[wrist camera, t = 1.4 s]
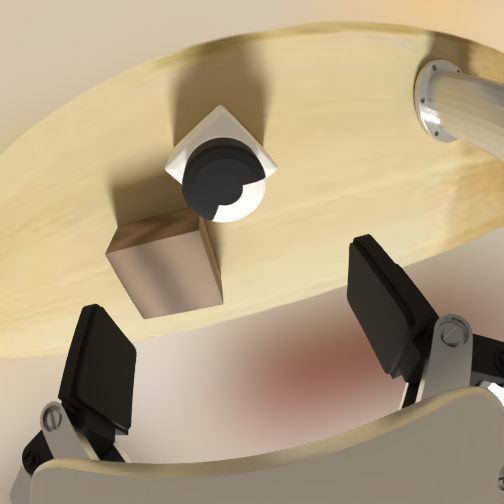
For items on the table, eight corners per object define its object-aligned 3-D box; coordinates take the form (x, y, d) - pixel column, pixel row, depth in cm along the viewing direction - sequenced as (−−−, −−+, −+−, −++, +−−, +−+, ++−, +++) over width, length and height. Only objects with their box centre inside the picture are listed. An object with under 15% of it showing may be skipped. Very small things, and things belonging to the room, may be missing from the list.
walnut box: (199, 204, 32) (198, 230, 27) (220, 273, 38) (223, 304, 34) (118, 226, 32) (105, 254, 27) (149, 288, 38) (143, 319, 33)
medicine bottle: (172, 149, 27) (152, 191, 18) (220, 103, 25) (228, 116, 15) (217, 190, 31) (223, 249, 21) (264, 149, 29) (295, 190, 19)
